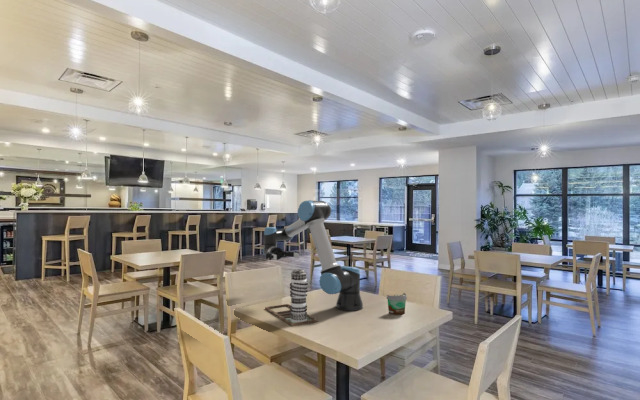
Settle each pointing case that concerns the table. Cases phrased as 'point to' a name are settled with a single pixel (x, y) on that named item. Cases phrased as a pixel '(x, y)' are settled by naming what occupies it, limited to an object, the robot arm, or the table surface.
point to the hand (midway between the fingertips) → (287, 256)
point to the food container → (397, 304)
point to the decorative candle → (298, 296)
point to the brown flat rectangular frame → (286, 316)
